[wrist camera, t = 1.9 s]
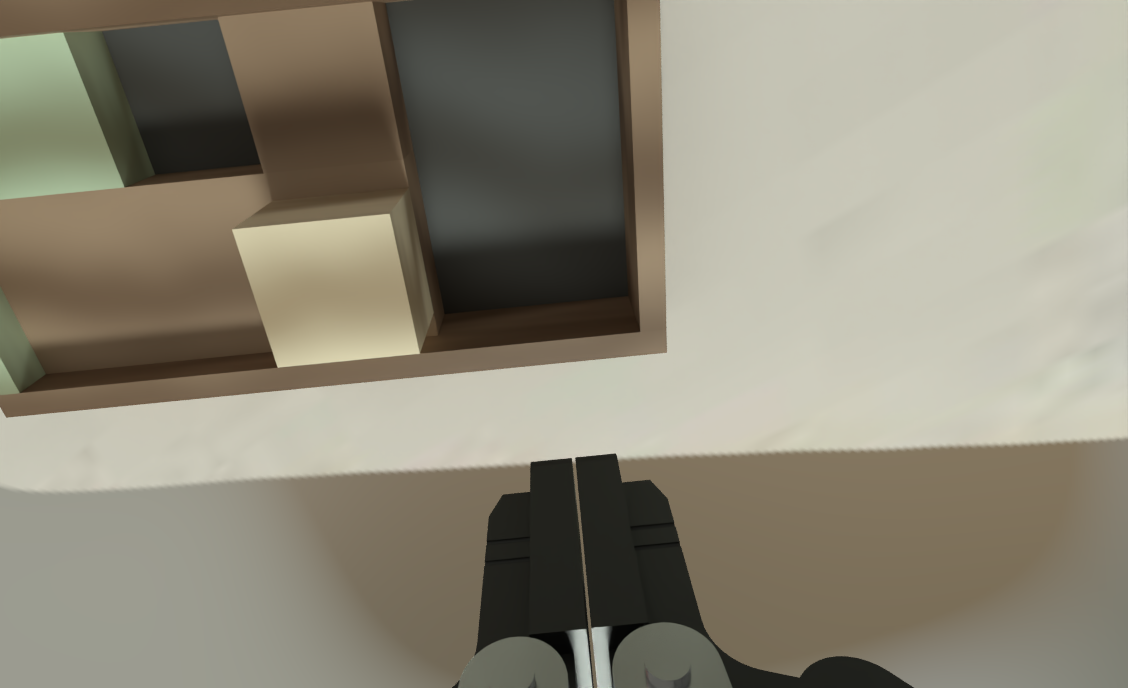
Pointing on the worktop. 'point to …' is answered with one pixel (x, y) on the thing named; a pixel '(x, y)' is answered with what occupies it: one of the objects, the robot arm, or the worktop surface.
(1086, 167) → the worktop surface
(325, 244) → the birch block
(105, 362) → the channel
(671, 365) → the worktop surface
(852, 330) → the worktop surface
